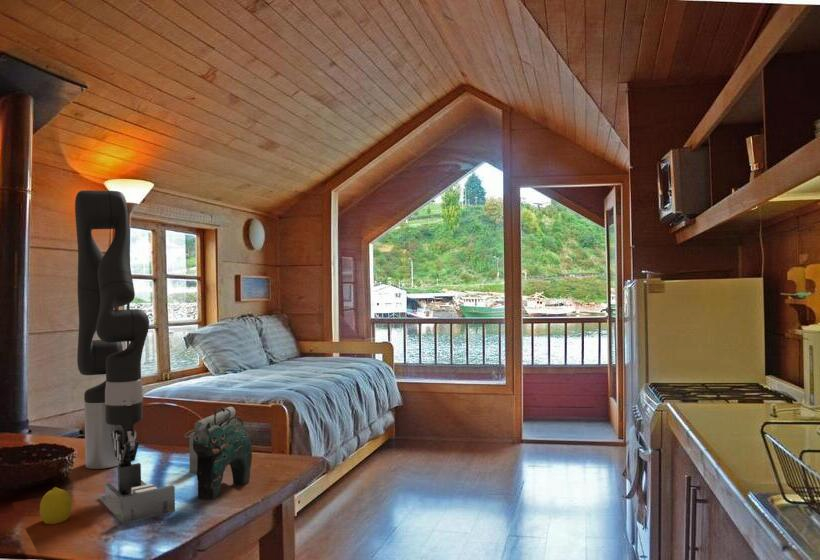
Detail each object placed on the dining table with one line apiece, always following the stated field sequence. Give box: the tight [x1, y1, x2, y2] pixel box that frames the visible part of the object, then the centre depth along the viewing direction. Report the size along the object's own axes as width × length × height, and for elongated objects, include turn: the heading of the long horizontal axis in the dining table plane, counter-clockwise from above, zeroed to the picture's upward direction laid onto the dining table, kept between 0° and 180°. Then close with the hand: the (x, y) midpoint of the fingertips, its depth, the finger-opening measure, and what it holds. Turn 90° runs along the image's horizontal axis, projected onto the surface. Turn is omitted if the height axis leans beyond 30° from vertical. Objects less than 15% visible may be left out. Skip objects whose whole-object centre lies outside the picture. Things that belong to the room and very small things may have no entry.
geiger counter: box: [183, 406, 238, 473], centre depth 168 cm, size 14×6×25 cm
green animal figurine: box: [193, 406, 253, 501], centre depth 145 cm, size 20×6×20 cm, turn 166°
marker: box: [131, 483, 158, 494], centre depth 129 cm, size 4×4×5 cm
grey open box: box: [97, 479, 176, 525], centre depth 134 cm, size 20×10×6 cm, turn 39°
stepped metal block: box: [117, 462, 142, 496], centre depth 134 cm, size 9×4×7 cm, turn 39°
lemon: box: [39, 486, 73, 525], centre depth 126 cm, size 6×6×8 cm
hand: (125, 478), depth 140 cm, fingers closed
